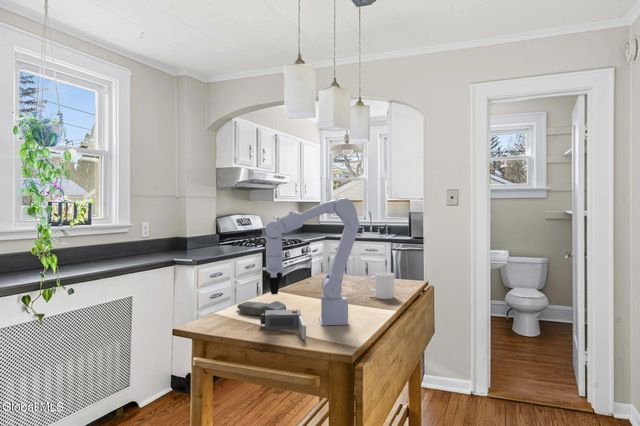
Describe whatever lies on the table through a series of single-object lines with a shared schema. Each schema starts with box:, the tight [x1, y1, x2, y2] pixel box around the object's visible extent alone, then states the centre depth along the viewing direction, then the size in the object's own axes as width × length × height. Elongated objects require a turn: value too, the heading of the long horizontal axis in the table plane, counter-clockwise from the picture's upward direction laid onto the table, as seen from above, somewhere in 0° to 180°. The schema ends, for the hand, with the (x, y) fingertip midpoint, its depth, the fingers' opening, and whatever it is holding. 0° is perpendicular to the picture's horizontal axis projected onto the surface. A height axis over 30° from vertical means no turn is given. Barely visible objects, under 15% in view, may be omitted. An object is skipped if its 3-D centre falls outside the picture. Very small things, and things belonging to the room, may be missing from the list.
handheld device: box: [236, 300, 287, 316], centre depth 165 cm, size 10×20×5 cm, turn 64°
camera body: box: [260, 309, 302, 331], centre depth 148 cm, size 14×6×6 cm, turn 94°
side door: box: [298, 314, 307, 340], centre depth 140 cm, size 11×1×5 cm, turn 9°
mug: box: [366, 271, 395, 300], centre depth 190 cm, size 12×8×10 cm
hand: (274, 294), depth 151 cm, fingers closed
